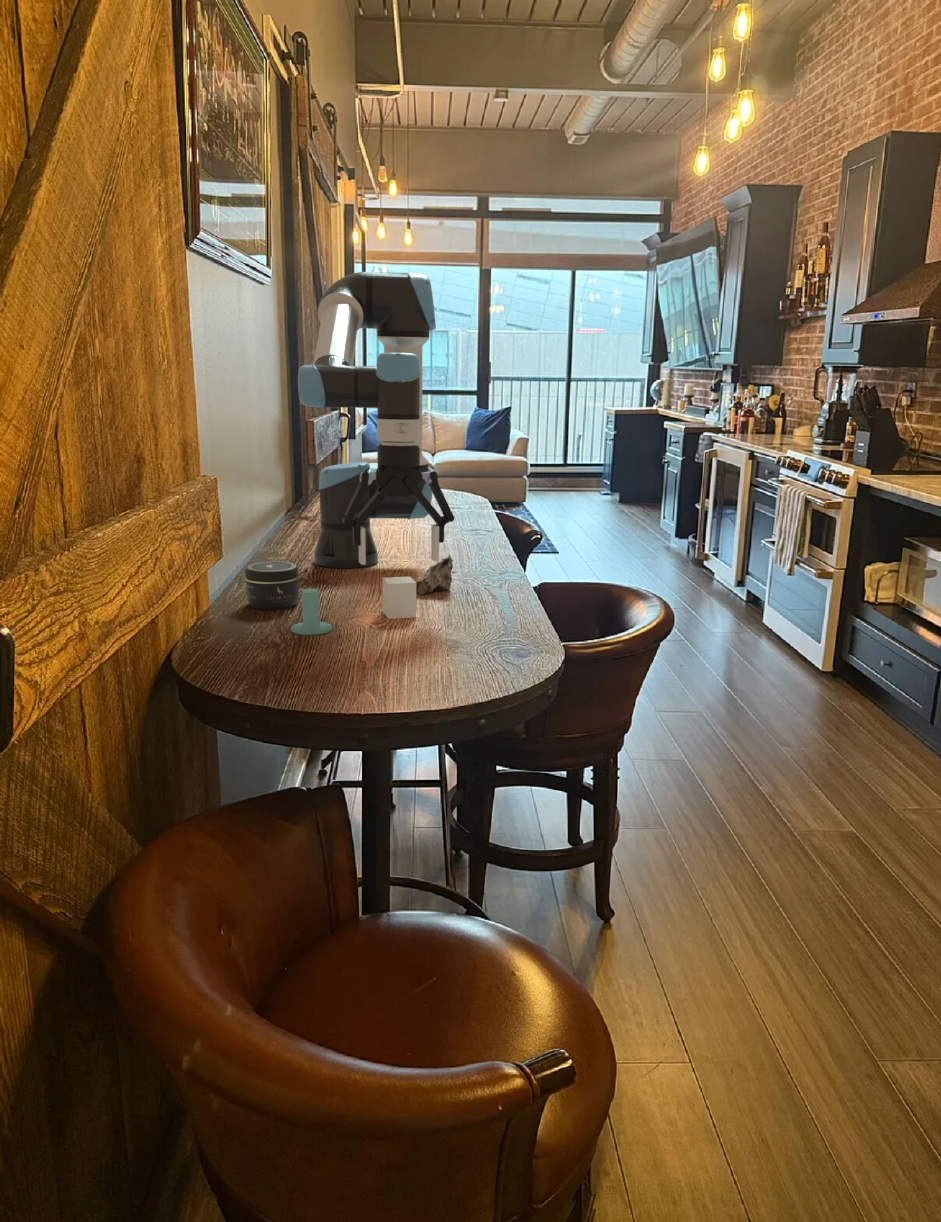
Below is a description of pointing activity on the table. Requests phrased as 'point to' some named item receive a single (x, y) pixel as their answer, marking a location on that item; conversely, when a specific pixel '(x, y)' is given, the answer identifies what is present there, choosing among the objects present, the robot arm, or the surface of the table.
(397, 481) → the robot arm
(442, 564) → the rock
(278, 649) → the table surface
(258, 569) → the jar
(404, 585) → the white rectangular block
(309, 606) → the teal post on base
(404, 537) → the table surface
